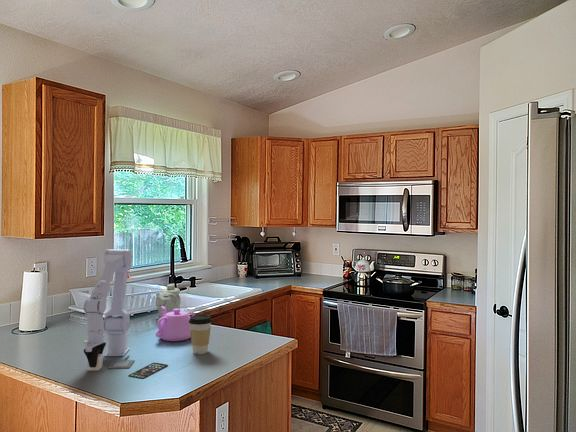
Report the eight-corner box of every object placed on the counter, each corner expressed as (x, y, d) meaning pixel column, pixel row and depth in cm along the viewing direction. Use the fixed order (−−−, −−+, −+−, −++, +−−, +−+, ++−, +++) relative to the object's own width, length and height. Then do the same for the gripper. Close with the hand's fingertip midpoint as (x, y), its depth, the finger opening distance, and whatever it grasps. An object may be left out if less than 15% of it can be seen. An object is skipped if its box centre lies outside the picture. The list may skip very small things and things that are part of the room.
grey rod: (127, 356, 184) (127, 354, 184) (129, 356, 184) (129, 354, 184) (123, 360, 179) (123, 359, 179) (125, 360, 179) (125, 359, 179)
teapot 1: (157, 322, 238) (157, 287, 237) (148, 317, 250) (148, 283, 250) (186, 318, 247) (186, 285, 247) (176, 313, 260) (176, 281, 259)
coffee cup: (203, 346, 197) (203, 313, 197) (216, 352, 190) (216, 317, 190) (184, 351, 191) (184, 316, 190) (196, 357, 184) (196, 321, 183)
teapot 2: (179, 328, 228) (179, 301, 227) (206, 336, 213) (206, 307, 213) (140, 337, 211) (140, 308, 211) (166, 347, 197) (167, 316, 196)
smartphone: (126, 375, 163) (153, 362, 176) (126, 377, 163) (153, 363, 176) (143, 378, 160) (169, 364, 174) (143, 380, 160) (169, 366, 174)
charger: (91, 366, 172) (91, 353, 172) (102, 366, 172) (102, 353, 172) (87, 370, 168) (87, 357, 168) (98, 370, 168) (98, 356, 168)
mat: (114, 361, 178) (114, 360, 178) (134, 361, 178) (134, 360, 178) (107, 368, 170) (107, 367, 170) (129, 368, 170) (129, 367, 170)
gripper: (91, 324, 177) (91, 358, 177) (76, 335, 162) (77, 371, 163) (109, 324, 178) (109, 358, 178) (96, 334, 163) (96, 371, 163)
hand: (95, 364), depth 170 cm, fingers open, 4 cm apart
